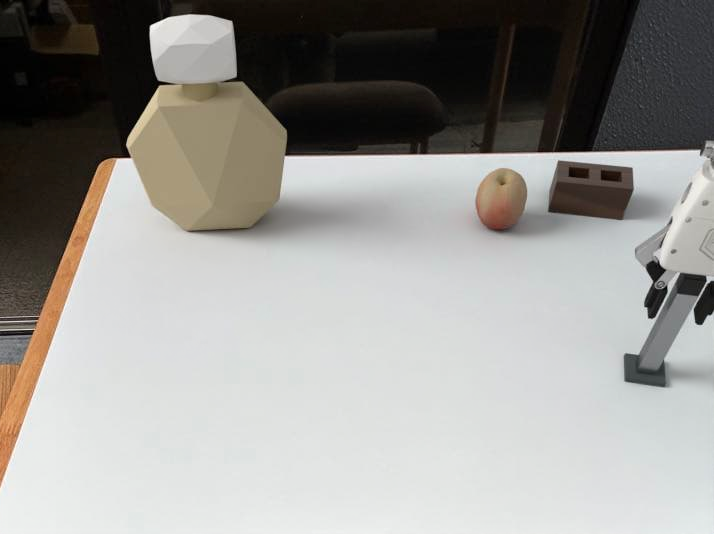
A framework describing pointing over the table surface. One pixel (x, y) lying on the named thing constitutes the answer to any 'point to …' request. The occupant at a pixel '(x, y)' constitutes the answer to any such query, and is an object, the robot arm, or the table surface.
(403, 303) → the table surface
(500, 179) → the fruit
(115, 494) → the table surface
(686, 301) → the grey square peg
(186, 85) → the perfume bottle
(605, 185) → the holder
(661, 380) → the mat
